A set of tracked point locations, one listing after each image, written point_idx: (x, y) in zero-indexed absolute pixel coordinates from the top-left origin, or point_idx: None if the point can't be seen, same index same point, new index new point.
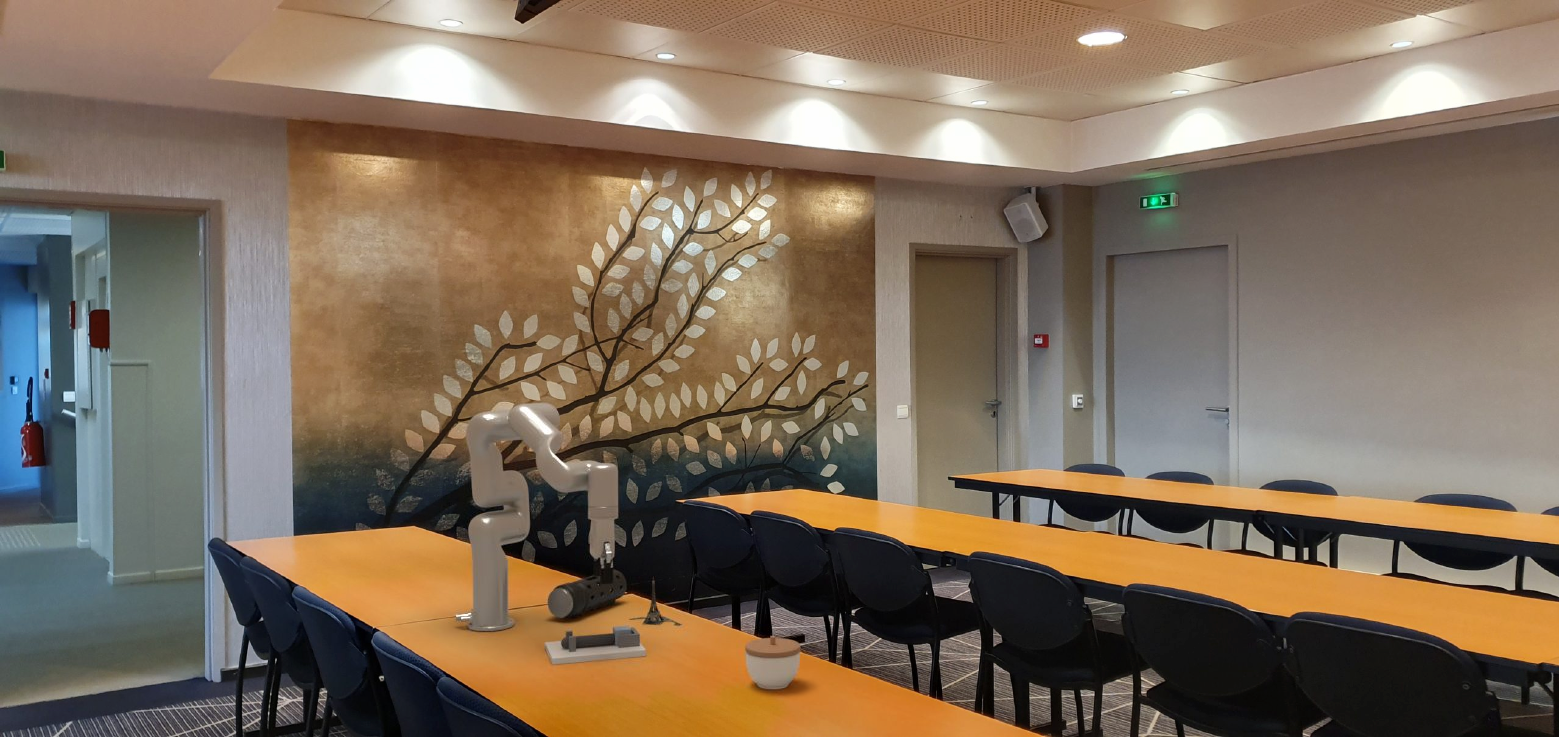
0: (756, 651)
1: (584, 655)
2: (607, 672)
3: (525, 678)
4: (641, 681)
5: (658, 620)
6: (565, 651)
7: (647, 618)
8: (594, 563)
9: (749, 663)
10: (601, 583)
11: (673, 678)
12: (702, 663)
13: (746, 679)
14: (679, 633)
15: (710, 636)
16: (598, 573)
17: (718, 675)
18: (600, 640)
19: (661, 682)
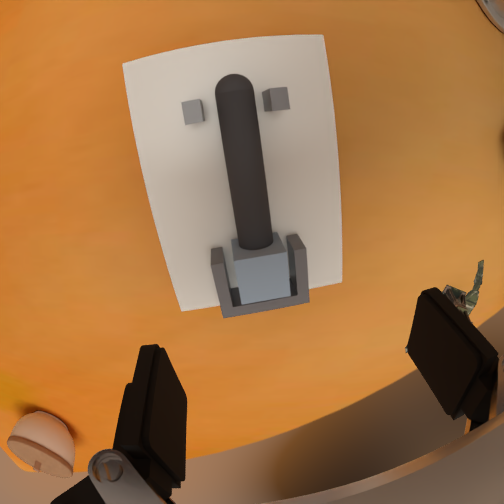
0: (7, 441)
1: (140, 153)
2: (51, 219)
3: (31, 35)
4: (12, 286)
5: None
6: (196, 91)
7: (450, 300)
8: (474, 347)
9: (18, 426)
10: (143, 348)
11: (37, 335)
12: None
13: (60, 409)
14: (353, 354)
15: (311, 396)
16: (423, 322)
17: (68, 389)
18: (232, 202)
19: (15, 316)
